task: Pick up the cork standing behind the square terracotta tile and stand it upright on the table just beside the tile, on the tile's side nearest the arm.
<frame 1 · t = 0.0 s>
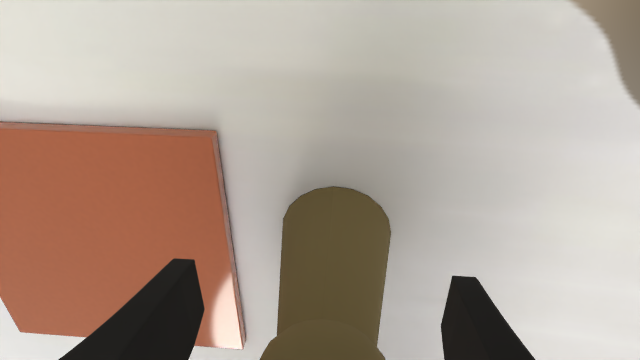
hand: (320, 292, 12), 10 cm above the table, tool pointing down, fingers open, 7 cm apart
tile: (104, 244, 26), on the table
cork: (336, 229, 24), on the table
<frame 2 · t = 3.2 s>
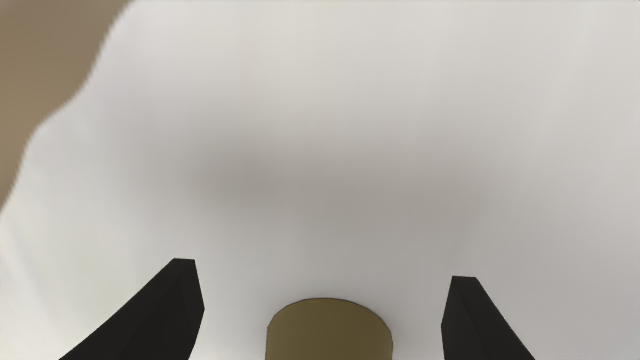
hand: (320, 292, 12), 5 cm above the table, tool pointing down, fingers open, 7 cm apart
cork: (329, 338, 21), on the table
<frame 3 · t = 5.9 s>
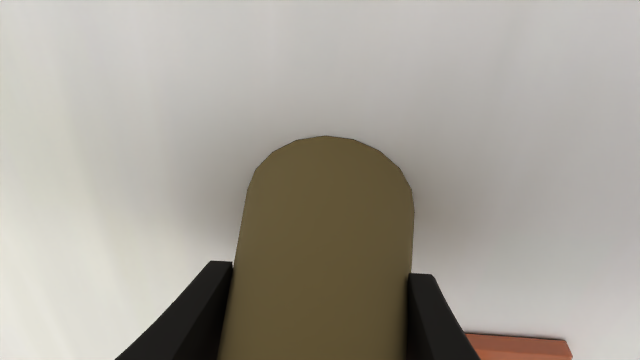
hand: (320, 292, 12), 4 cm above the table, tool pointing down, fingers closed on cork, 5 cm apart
cork: (329, 208, 16), on the table, touching gripper
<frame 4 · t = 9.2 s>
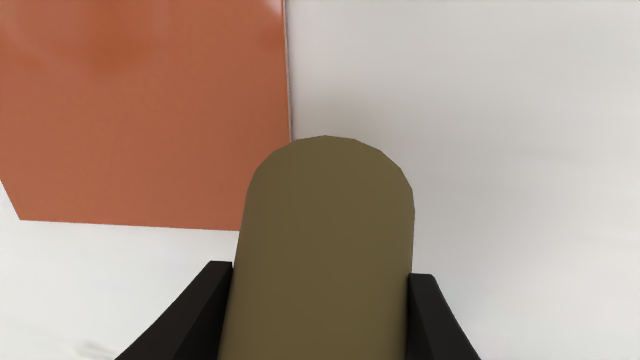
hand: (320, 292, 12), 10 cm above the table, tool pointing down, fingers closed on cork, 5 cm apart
tile: (124, 85, 20), on the table
cork: (329, 207, 16), point 6 cm above the table, touching gripper
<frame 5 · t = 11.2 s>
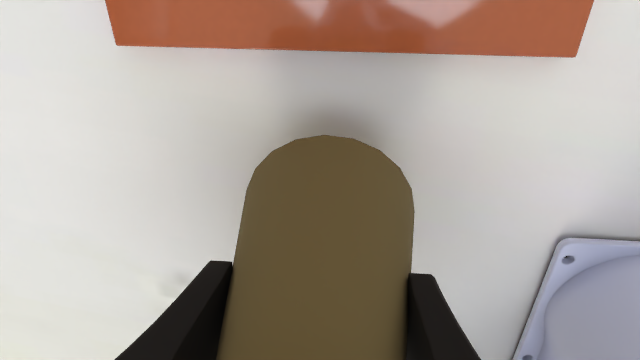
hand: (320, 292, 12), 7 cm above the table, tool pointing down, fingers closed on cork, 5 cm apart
cork: (329, 207, 16), point 3 cm above the table, touching gripper
when the fingers open (4 cm above the table, at t = 12.7 s): cork stays where it is, on the table.
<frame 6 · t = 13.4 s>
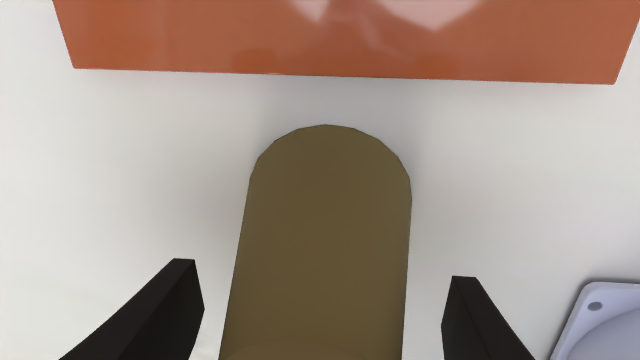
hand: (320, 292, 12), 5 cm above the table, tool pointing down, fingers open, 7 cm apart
cork: (329, 196, 16), on the table
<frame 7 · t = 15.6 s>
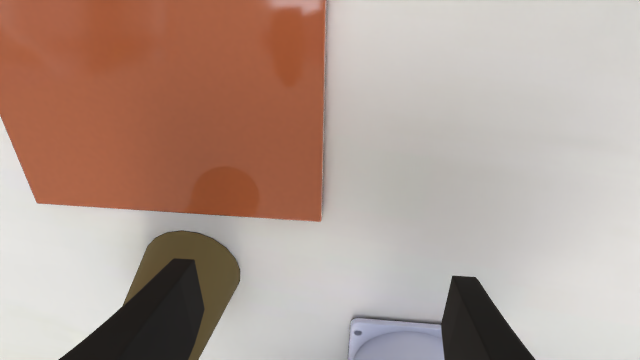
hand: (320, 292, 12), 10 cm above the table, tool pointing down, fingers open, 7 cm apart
tile: (153, 63, 20), on the table
cork: (193, 266, 27), on the table
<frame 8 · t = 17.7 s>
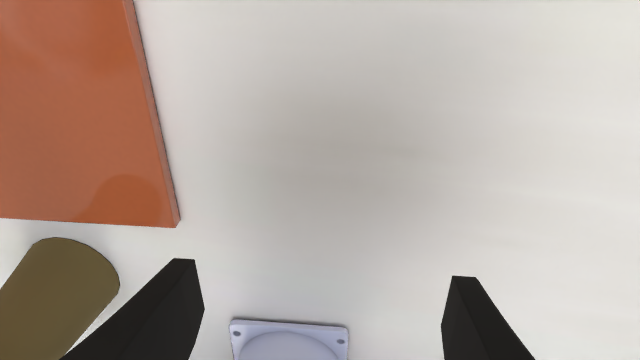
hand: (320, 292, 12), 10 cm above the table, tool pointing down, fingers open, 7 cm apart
cork: (75, 271, 28), on the table
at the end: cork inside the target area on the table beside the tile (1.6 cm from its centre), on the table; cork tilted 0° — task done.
